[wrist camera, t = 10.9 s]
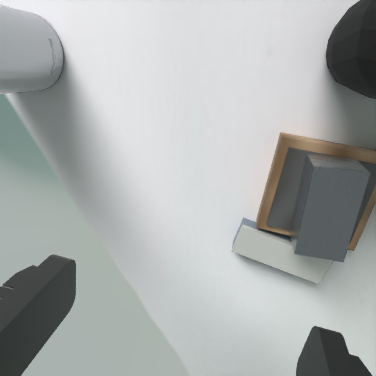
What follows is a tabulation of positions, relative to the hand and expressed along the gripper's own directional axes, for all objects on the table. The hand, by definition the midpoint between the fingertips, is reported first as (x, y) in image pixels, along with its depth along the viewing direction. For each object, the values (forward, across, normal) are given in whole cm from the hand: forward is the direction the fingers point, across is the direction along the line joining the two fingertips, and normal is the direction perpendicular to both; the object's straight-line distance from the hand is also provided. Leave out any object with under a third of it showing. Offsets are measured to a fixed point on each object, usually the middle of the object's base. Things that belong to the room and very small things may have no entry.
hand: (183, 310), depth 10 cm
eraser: (+30, -9, +14) cm, 34 cm away
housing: (+27, -11, +5) cm, 29 cm away
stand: (+30, -11, +5) cm, 32 cm away
